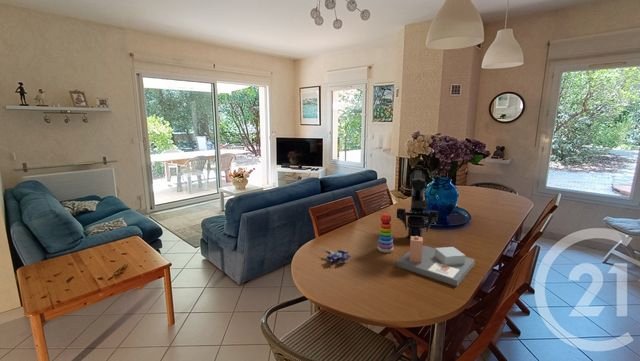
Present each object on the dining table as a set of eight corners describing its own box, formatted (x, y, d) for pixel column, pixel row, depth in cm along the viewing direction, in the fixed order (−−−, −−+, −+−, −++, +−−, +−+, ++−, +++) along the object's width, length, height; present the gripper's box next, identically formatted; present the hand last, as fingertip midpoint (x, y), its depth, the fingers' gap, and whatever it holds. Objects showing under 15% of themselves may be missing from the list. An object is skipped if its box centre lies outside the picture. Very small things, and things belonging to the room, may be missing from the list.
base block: (434, 256, 138) (435, 248, 137) (452, 254, 139) (453, 246, 138) (445, 265, 129) (446, 256, 128) (464, 263, 131) (465, 255, 130)
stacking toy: (394, 247, 153) (395, 212, 150) (392, 254, 146) (394, 217, 142) (378, 245, 156) (379, 211, 152) (376, 252, 149) (377, 215, 145)
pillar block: (409, 256, 138) (410, 234, 136) (421, 257, 136) (422, 235, 134) (409, 261, 133) (410, 238, 131) (421, 262, 132) (423, 239, 130)
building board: (395, 265, 134) (396, 260, 134) (418, 248, 152) (418, 243, 151) (456, 286, 117) (457, 280, 117) (474, 264, 135) (474, 258, 135)
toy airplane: (320, 254, 146) (320, 247, 146) (348, 253, 147) (348, 246, 146) (320, 267, 134) (320, 259, 133) (352, 266, 134) (352, 259, 133)
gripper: (397, 192, 144) (395, 221, 136) (439, 194, 139) (440, 225, 131) (397, 203, 153) (395, 231, 145) (436, 206, 148) (437, 235, 140)
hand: (416, 231), depth 140 cm, fingers open, 9 cm apart
